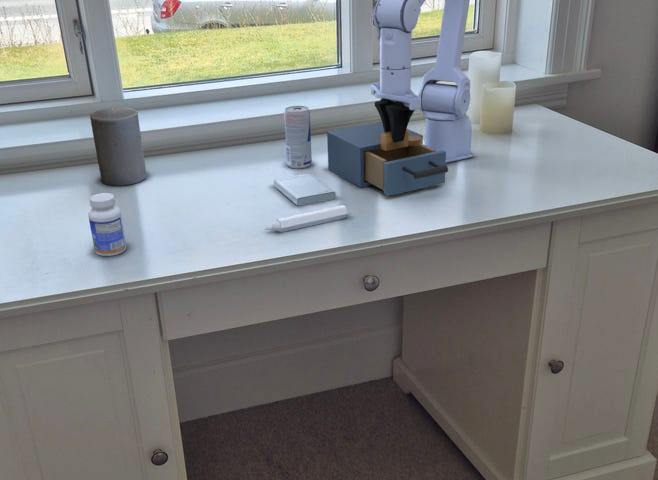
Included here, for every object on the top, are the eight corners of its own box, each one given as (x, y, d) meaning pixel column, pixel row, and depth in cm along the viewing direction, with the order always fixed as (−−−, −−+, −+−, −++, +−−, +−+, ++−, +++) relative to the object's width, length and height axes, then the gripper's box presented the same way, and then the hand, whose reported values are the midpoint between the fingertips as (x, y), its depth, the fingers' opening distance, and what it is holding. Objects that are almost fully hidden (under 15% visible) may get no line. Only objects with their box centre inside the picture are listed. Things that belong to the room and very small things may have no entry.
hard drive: (335, 191, 159) (310, 172, 169) (296, 198, 157) (273, 178, 166) (336, 199, 160) (311, 180, 170) (296, 206, 158) (273, 186, 167)
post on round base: (387, 151, 158) (387, 136, 156) (378, 147, 160) (378, 132, 159) (425, 144, 161) (425, 128, 160) (415, 140, 164) (416, 124, 162)
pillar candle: (91, 183, 173) (78, 111, 165) (118, 169, 181) (106, 99, 173) (131, 188, 170) (119, 114, 162) (156, 173, 177) (146, 102, 170)
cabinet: (421, 174, 171) (422, 135, 166) (360, 187, 165) (360, 147, 161) (386, 157, 181) (387, 120, 177) (328, 169, 175) (327, 131, 171)
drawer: (460, 190, 159) (462, 158, 156) (402, 204, 154) (402, 171, 151) (409, 166, 173) (410, 136, 169) (354, 178, 167) (353, 147, 164)
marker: (264, 237, 147) (344, 219, 153) (268, 235, 145) (348, 216, 151) (260, 223, 147) (340, 205, 152) (264, 221, 145) (345, 202, 150)
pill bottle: (97, 245, 145) (87, 192, 140) (128, 243, 145) (119, 190, 140) (92, 258, 140) (82, 203, 135) (125, 255, 140) (115, 201, 135)
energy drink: (313, 160, 181) (310, 105, 174) (310, 168, 176) (308, 112, 170) (288, 161, 181) (285, 105, 175) (285, 168, 177) (282, 112, 170)
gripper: (356, 62, 156) (357, 134, 163) (398, 76, 145) (397, 152, 152) (388, 57, 159) (388, 128, 166) (431, 71, 148) (429, 146, 155)
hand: (394, 139), depth 159 cm, fingers closed on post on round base, 2 cm apart
